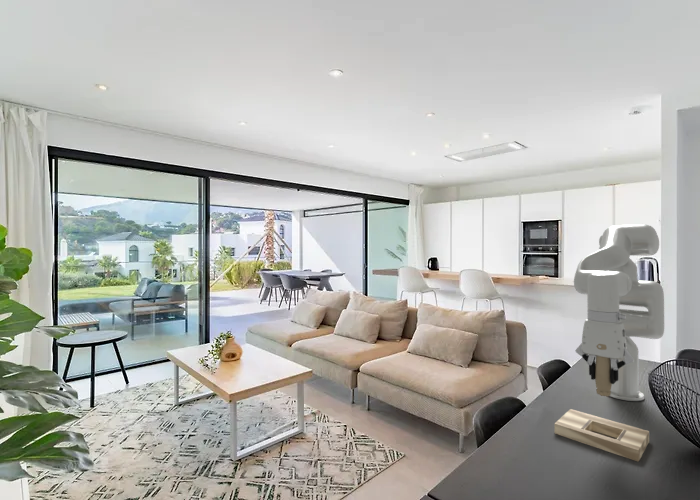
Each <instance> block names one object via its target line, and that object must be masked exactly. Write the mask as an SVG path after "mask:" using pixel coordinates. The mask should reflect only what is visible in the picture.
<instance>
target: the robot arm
mask: <svg viewBox="0 0 700 500" xmlns="http://www.w3.org/2000/svg"><path fill="white" fill-rule="evenodd" d="M598 245H599V247H598V250H596V251H594V252H592V253H590V254H588V255H587V256H585V257H584V258H582V259H581V260H580V261H579V263H578V265H577V268H576V271H575V273H574V278H573V286H574V289H575V291H577V293H579V294H581V295H587V301H586V302H587V318H585V320H584V323H583V329H582V335H581V342H580V345H579V346H578V347H576V349H575V353H576V354H577V355H579V356H580V357H582V358H583V360H584V361H586V364H587V365H588V375H589V376H590V380H592V381H595V367H596V356H600V357H605V358H610V359H611V370H610V383H611V384H612V386H611V390H610V391H611V395H610V396H609V397H610V398H614V399H617V400H622V401H627V402H640V401H643V400H645V394H644V393H643V392H641V391H640V390H639V389H640V386H639V384H640V383H639V382H640V381H639V374H640V373H639V371H640V369H639V368H640V367H639V362H640V361H639V359H640V358H639V355H640V354H639V347H638V345H637V344H636V343H635V341H634V340H633V339H632V338H631V337H633V338H634V337H635V338H643V339H649V340H650V339H652V340H658V339H661V338H663V336H664V333H665V294H664V288H663V286H662V284H660V283H659V282H657V281H653V280H639V279H638V267H637V264H636V263H635V262H634V261H633V260H632V259H631V256H633V257H634V256H636V257H638V256H640V257H641V256H654V255H656V254H657V253H658V251H659V248H660V238H659V235H658V232H657V231H656V229H655V228H654V227H653V226H652V225H649V224H643V223H642V224H621V225H619V224H618V225H611V226H609V227H607V228H606V229H605V230H604V231H603V233H602V235H601V236H600V237H599V239H598ZM620 306H626V307H627V306H628V307H638V308H640V307H641V308H645V309H646V310H637V309H636V310H635V309H624V308H620ZM647 310H648V311H647ZM598 344H604V345H606V347H607V349H606V350H600V349H598V348H597V347H596V346H597V345H598ZM598 347H599V348H601V346H600V345H599V346H598Z"/></svg>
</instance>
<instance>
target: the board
mask: <svg viewBox="0 0 700 500" xmlns="http://www.w3.org/2000/svg"><path fill="white" fill-rule="evenodd" d="M554 434H555V435H558V436H560V437H564V438H567V439H569V440H572V441H576V442H579V443H582V444H585V445H588V446H591V447H593V448H597V449H599V450H602V451H605V452H609V453H611V454H614V455H617V456H620V457H624V458H625V459H629V460H632V461H635V462H640V460H641V458H642V457H643V454H644V453H645V451H646V449H647V446H648V445H649V443H650V431H649V430H647V429H646V430H645V429H644V428H643V429H642V428H639V427H636V426H633V425H629V424H625V423H621V422H618V421H614V420H610V419H608V418H604V417H600V416H596V415H594V414H590V413H586V412H583V411H579V410H575V409H572V408H570V409H569V410H568V411H566V412H565V413H564V414H563V415H562V416H561V417H560V418H559V419H558V420H556V421H555V422H554Z"/></svg>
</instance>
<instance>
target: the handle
mask: <svg viewBox="0 0 700 500" xmlns="http://www.w3.org/2000/svg"><path fill="white" fill-rule="evenodd" d="M599 345H600V346H601V348H599V347H598V346H599ZM596 347H597V348H598V349H600V350H606V349H607V347H606V345H604V344H598V345H597V346H596ZM595 364H596V367H595V379H594V381H595V387H596V394H597V395H599V396H601V397H610V395H611V391H610V390H611V386H612V384H611V383H610V370H611V359H610V358H605V357H600V356H596V359H595Z"/></svg>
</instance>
